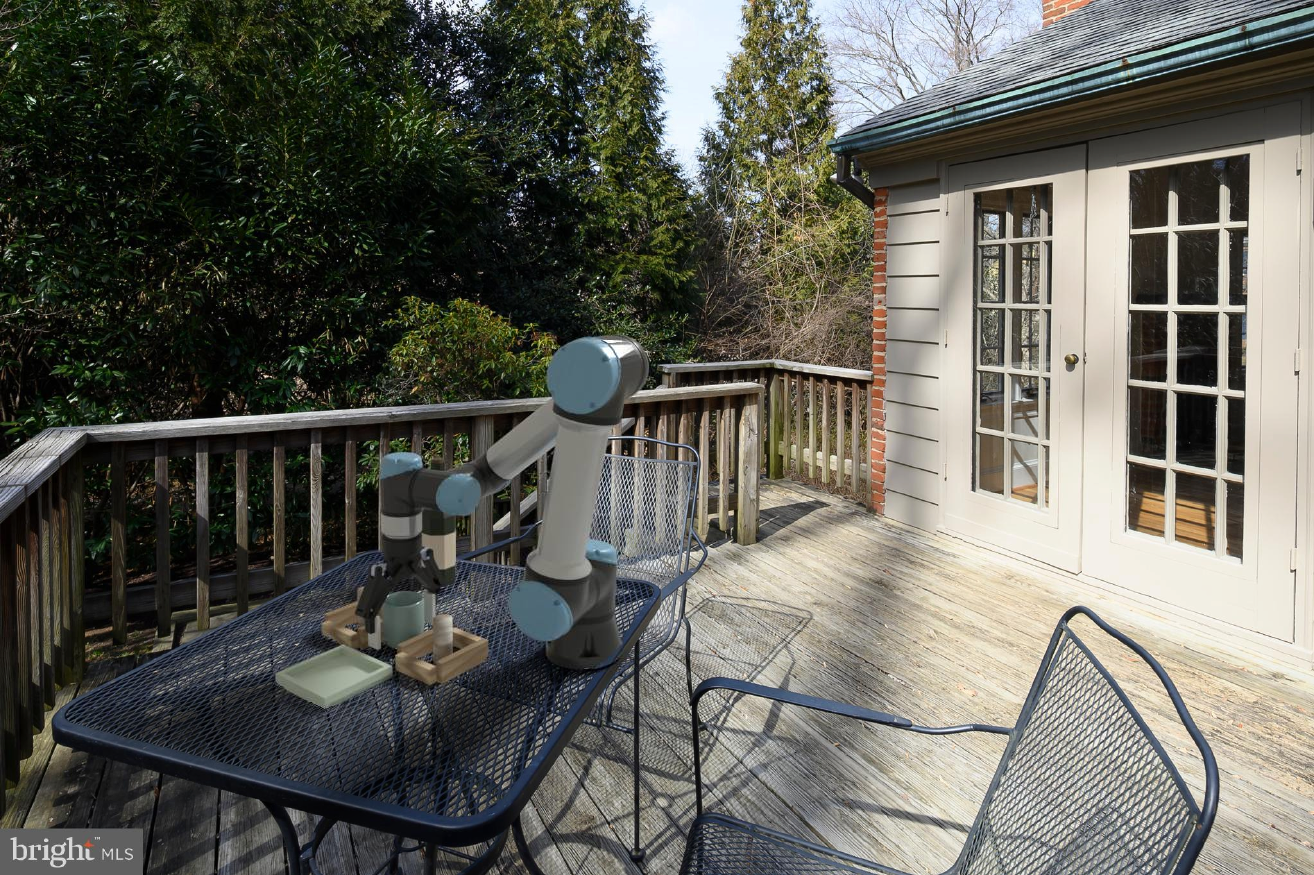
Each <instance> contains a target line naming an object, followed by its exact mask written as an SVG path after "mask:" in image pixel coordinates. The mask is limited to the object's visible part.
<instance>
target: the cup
mask: <svg viewBox="0 0 1314 875" xmlns="http://www.w3.org/2000/svg"><path fill="white" fill-rule="evenodd" d="M424 617H425V611H424V597H423V594H422V593H419V592H416V591H410V590H402V591H395V592H392V593H389V595H388V596H387V598H386V600H385V602H384V603H383V605H382V617H381V619H382V625H383V633H384V638H385V640H384V641H385V643H386V644H387V646H388V647H389V648H391V649H393V648H397V645H398V644H400V643H403V642H405V641H407V640H409V639H411V638H414V637H416V636H418V635H420V634H422V633H425V632H424V631H425V622H424Z"/></svg>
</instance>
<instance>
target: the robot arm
mask: <svg viewBox="0 0 1314 875" xmlns="http://www.w3.org/2000/svg"><path fill="white" fill-rule="evenodd" d="M649 365H650V364H649V360H648V355H647V353H646V352H645V350H644V348H643V347H642V345H641V344H640V343H639V342H637V340H635V339H633V338H631V337H630V336H627V335H624V334H620V333H618V334H617V333H614V334H612V333H611V334H606V335H599V336H593V337H592V336H584V337H580V338H577V339H575V340H572V341H571V342H567V343H566V344H564V345H563V346H561V347H560V348H559V349H557V351H556V352H555V353H554V354H553V356H552V357H551V360H550V361H549V364H548V367H547V370H546V386H547V389H548V392H549V393H550V395H551V398H550V399H548V401H546V402H545V403H543V405H540V407H539V408H537V409H536V410H535V411H534V412H533V413H531V414H530V415H529V416H527V417H526V418H525V419H524V420H523V421H521V422H520V423H519V424H517V425H516V426H515V427H514V428H513V429H512V430H509V432H508V433H506V434H505V435H504V436H503V437H501V438H500V439H499V440H497V441H496V442H495V443H494V444H493V445H491V447H489V448H488V449H487V450H485V451H484V452H483V453H482V454H481V455H480V456H478V457H477V458H475V459H474V460H472V461H469V462H466V463H464V464H461V465H458V466H456V467H453V468H450V469H447V470H445V471H437V470H431V468H430V469H429V468H426V467H423V466H424V463H423V461H422V460H423V459H422V457H421V455H419V454H417V453H415V452H414V453H413V452H408V451H407V452H404V451H403V452H392V453H389V454H386V455H384V456H383V457H382V458H381V460H380V472H379V473H380V475H379V485H380V502H381V503H380V504H381V506H380V508H381V509H380V517H381V518H380V525H381V526H380V527H381V528H380V531H381V533H382V535H381V536H380V539H381V543H380V544H381V546H380V547H381V553H382V555H383V560H382V563H380V564H374V563H370V565H369V566H368V572H367V573H368V574H367V577H366V581H365V584H364V586H363V587H364V589H363V591H362V594H361V597H360V600H359V602H358V605H357V608H356V610H355V615H357V616H359V617H362V618H364V619H365V631H366V632H367V633H368V646H369V647H371V648H373V649H375V650H380V649H381V648H382V644H381V642H382V641H381V630H380V619H381V617H380V616H378V615H377V614H378V612H379V611H380V609H381V607H382V605H383V603H384V602H385V600H386V598H387V596H388V595H389V594H391V591H392V589H393V588H394V587H396V586H397V584H398V582H402V581H404V580H405V579H410V578H413V577H414V578H415V579H416V580H417V581H418V582H419V583H420V585H422V586H423V588H425V589H426V590H425V591H423V594H422V595H423V597H424V611H425V617H424V623H426V624H429V625H431V626H433V618H434V617H435V616H436V607H437V605H438V595H440V594H441V593H442V588H445V587H446V586H447V585H446V582H445V580H444V578H443V576H442V574H441V572H440V570H439V568H438V566H437V564H436V561H435V559H434V553H433V549H430V548H427V547H424V546H423V547H422V533H421V531H422V511H423V509H428V510H432V511H437V512H442V513H446V514H448V515H449V514H450V515H455V516H463V517H464V516H465V517H466V516H470V515H471V514H472V513H473V512H474V511H475V509H476V508H478V505H479V504H480V501H481V499H484V498H485V497H488V496H490V495H493V494H496V493H497V494H498V493H499V492H502V490H503V489H505V488H507V487H508V486H509V485H510V483H511V481H512V480H513V478H514V477H516V476H517V475H518V474H520V473H521V472H522V471H524V470H525V469H526V468H527V467H529V466H530V465H531V464H533V463H534V462H536V461H537V460H538V459H540V458H541V457H542V456H544V455H545V454H546V453H548V452H549V451H551V449H553V448H554V451H553V457H552V463H551V469H550V474H549V481H548V486H547V492H546V497H545V503H544V508H543V513H542V518H541V520H542V521H541V525H540V532H539V535H538V536H539V537H538V541H537V542H538V544H537V548H536V549H534V550H533V551H531V552H530V553H529V554H528V555H527V558H526V561H525V566H524V572H523V579H522V581H521V582H519V583H518V584H515V586H514V588H513V589H512V591H511V592H510V595H509V599H508V610H509V614H510V616H511V620H512V621H513V622H514V623H515V624H516V625H517V628H518V629H519V630H520V631H521V632H522V633H523V634H524V635H525V636H527V637H529V638H531V639H533V640H536V641H539V642H545V654H546V657H547V658H548V660H549V661H550V662H551V663H553V665H556V666H559V667H561V668H564V667H565V669H567V668H569V669H568V670H572V669H575V670H574V671H580V670H579V669H584V668H592V667H595V666H597V665H600V664H601V663H603V662H604V661H606V660H607V659H609V657H611V656H612V655H613V654H614V653H615V652H616V650H618V648H619V647H620V645H621V644H622V645H623V641H622V638H621V635H620V632H619V629H618V628H619V627H618V624H617V621H616V614H615V610H616V589H617V571H618V565H619V564H618V559H617V554H618V553H617V549H616V548H615V546H614V545H612V544H610V543H608V542H605V541H603V540H598V539H594V538H593V539H592V538H590V534H591V528H592V523H593V518H594V513H595V508H596V501H597V496H598V492H599V488H600V487H599V486H600V482H601V476H602V472H603V467H604V461H605V457H606V452H607V446H608V440H609V436H610V432H611V431H612V430H614V429H615V428H617V427H619V426H620V424H621V422H622V416H623V412H624V411H623V410H624V406H625V401H626V400H627V399H629V398H631V397H633V396H635V395H636V394H637V393H638V392H640V391H641V390H642V388H643V387H644V385H645V384H646V382H647V379H648V376H649V373H650V372H649V370H650V369H649V368H650V366H649ZM421 559H422V561H423V563H424V565H425V567H426V569H427V571H428V573H429V576H430V578H431V579H430V578H429V577H428V576H427V575H426V574H425V573H424V571H423V570H422V566H419V565H420V564H421ZM389 578H390V579H389ZM445 585H446V586H445ZM371 610H372V611H371Z"/></svg>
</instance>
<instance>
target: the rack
mask: <svg viewBox="0 0 1314 875" xmlns="http://www.w3.org/2000/svg"><path fill="white" fill-rule="evenodd" d="M363 589H364V586H360V587H358V588H357V590H356V594H357V600H356V601H354V602H352V603H350V604H347V605H344V606H342V607H339V608H337V609H334V610H331V611H328V612H326V613H324V614H323V618H324V619H323V620H324V622H322V623H321V636H322V635H324V636H328V637H329V638H332V639H333V640H335V641H337V642H338V643H339V644H340V645H339V644H338V645H339V646H341V645H343V644H344V645H346V646H348V647H350V648H353V649H355V650H357V649H358V648H359V649H362V650H365V649H367V648H369V647H370V646H368V633H367V632H366V631H365V619H364V618H362V617H359V616H357V615H355V610H356V608H357V605H358V602H359V600H360V597H361V594H362V591H363ZM371 611H372V610H371ZM377 616H380V630H381V642H383V641H385V638H384V633H383V625H382V607H381V609H380V611H379V612H378V614H377ZM453 618H454V617H453V616H452V615H450V614H445V613H444V614H442V613H441V614H437V615H435V617H434V618H433V625H432V628H431V629H430V630H427V631H425V632H423V633H422V634H420V635H418V636H416V637H414V638H411V639H409V640H407V641H405V642H403V643H400V644H398V645H397V650H396V652H397V653H396V654H395V671H397V672H399V673H402V674H403V675H406V676H409V677H411V678H412V679H415V680H418V681H420V682H422V681H423V682H422V683H424V684H426V685H428V686H432V685H433V684H435V683H439V684H441V685H443V684H445V683H447V682H449V681H452V680H453V679H454V678H456V677H458V676H460V675H461V674H464V673H465V672H467V671H469V670H471V669H473V668H474V667H476V666H478V665H480V664H482V663H484V662H486V661H485V659H486V658H487V657H488V658H489V656H488V655H489V640H488V639H486V638H483V637H480V636H479V635H475V634H473V633H470V632H467V631H465V630H462V629H460V628H458V627H453V620H454V619H453ZM353 623H355V624H357V625H358V628H357V631H354V630H352V629H350V628H348V627H346V628H345V627H344V626H346V625H350V626H352V625H351V624H353ZM353 625H354V624H353ZM453 647H454V648H455V647H456V648H458V650H457V651H455V652H453V651H454V650H453V649H454V648H453ZM431 652H432V653H431ZM429 653H430V654H432V655H433V657H432V658H433V659H432V660H433V661H432V662H433V664H432V663H429V662H427V661H424V660H422V659H421V658H419V659H418V658H415V657H420V656H423V655H425V654H427V655H429ZM425 656H426V655H425ZM423 657H424V656H423Z"/></svg>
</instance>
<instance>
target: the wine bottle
mask: <svg viewBox="0 0 1314 875" xmlns="http://www.w3.org/2000/svg"><path fill="white" fill-rule="evenodd" d="M430 470H437V471H446V461H444V458H443V457H433V458H432V461H430ZM456 527H457V526H456V515H450V514H449V515H448V514H446V513H442V512H437V511H432V510H428V509H423V508H422V531H421V533H422V547H423V546H424V547H427V548H430V549H433V553H434V559H435V561H436V564H437V566H438V568H439V570H440V572H441V574H442V576H443V578H444V580H445V582H446V585H445V587H446V586H448V585H450V584H451V585H452V584H454V583H455V582H456V579H455V576H456V575H457V571H456V570H457V569H456V568H457V566H456V565H457V561H456V560H457V557H456V554H457V552H456V551H457V548H456V544H457V543H456V540H457V539H456V537H457V536H456ZM420 564H421V569H422V570H423V571H424V573H425V574H426V575H427V576H428V577H429V578H430V576H429V573H428V571H427V569H426V567H425V565H424V563H423V561H422V559H421V561H420ZM456 577H457V576H456ZM430 579H431V578H430ZM454 581H455V582H454Z"/></svg>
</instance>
